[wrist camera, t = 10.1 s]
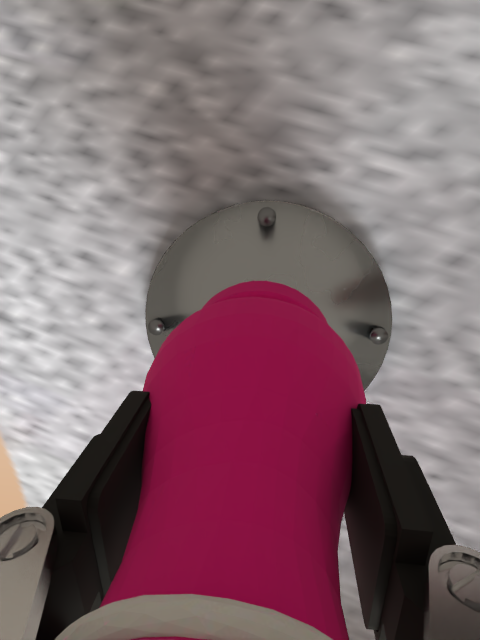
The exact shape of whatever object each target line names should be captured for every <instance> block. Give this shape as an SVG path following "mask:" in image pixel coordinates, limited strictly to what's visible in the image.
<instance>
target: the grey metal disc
mask: <svg viewBox="0 0 480 640" xmlns="http://www.w3.org/2000/svg"><path fill="white" fill-rule="evenodd" d="M249 281H270V282H275V283H280V284H284V285H286V286H289V287H291V288H293V289H296V290H298V291H299V292H301V293H302V294H304V295H305V296H306V297H308V298H309V299H310V300H311V301H312V302H313V303H314V304H315V305H316V306H317V307H318V308H319V309H320V311H321V312H322V314H323V315H324V317H325V318H326V321H327V323H328V325H329V326H330V327H331V328H332V329H333V330H334V331H335V332H336V333H337V334H338V335H339V336H340V338H341V339H342V340H343V341H344V343H345V344H346V346H347V347H348V349H349V350H350V352H351V353H352V355H353V357H354V359H355V361H356V364H357V366H358V368H359V371H360V376H361V380H362V385H363V389H364V390H365V389H366V388H367V387H368V386H369V384H370V383H371V381H372V380H373V379H374V377H375V376H376V374H377V372H378V370H379V369H380V367H381V365H382V363H383V360H384V358H385V355H386V352H387V350H388V345H389V341H390V336H391V327H392V311H391V301H390V297H389V292H388V288H387V285H386V282H385V280H384V277H383V275H382V272H381V270H380V269H379V267H378V265H377V263H376V261H375V260H374V258H373V257H372V255H371V254H370V253H369V251H368V250H367V249H366V247H365V246H364V245H363V244H362V243H361V242H360V241H359V240H358V239H357V238H356V237H355V236H354V235H353V234H352V233H351V232H350V231H349V230H347V229H346V228H345V227H343V226H342V225H341V224H339V223H338V222H336V221H335V220H334V219H332V218H330V217H328V216H327V215H325V214H323V213H321V212H319V211H317V210H314V209H311V208H308V207H306V206H303V205H299V204H294V203H289V202H284V201H270V200H266V201H251V202H246V203H241V204H237V205H233V206H230V207H227V208H225V209H222V210H219V211H217V212H215V213H213V214H211V215H209V216H207V217H206V218H204V219H202V220H200V221H199V222H197V223H196V224H194V225H193V226H191V227H190V228H189V229H187V230H186V231H185V232H184V233H183V234H182V235H181V236H180V237H179V238H178V239H176V240H175V241H174V243H173V244H172V245H171V246H170V248H169V249H168V250H167V251H166V253H165V254H164V256H163V257H162V259H161V261H160V262H159V264H158V266H157V268H156V270H155V272H154V275H153V277H152V280H151V283H150V287H149V291H148V294H147V302H146V329H147V335H148V340H149V343H150V347H151V350H152V353H153V355H154V358H155V357H156V355H157V353H158V351H159V349H160V347H161V345H162V344H163V342H164V341H165V340H166V338H167V337H168V336H169V334H170V333H171V332H172V331H173V330H174V329H175V328H176V327H177V326H178V325H179V324H180V323H182V322H183V321H184V320H185V319H186V318H187V317H189V316H190V315H192V314H193V313H195V312H197V311H199V310H201V309H202V308H203V306H204V305H205V304H206V303H207V302H208V301H209V300H210V299H211V298H212V297H213V296H214V295H216V294H218V293H219V292H221V291H222V290H224V289H226V288H228V287H231V286H234V285H236V284H239V283H242V282H249Z"/></svg>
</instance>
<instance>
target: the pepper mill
mask: <svg viewBox="0 0 480 640" xmlns="http://www.w3.org/2000/svg"><path fill="white" fill-rule="evenodd" d="M143 391H146V392H150V393H149V396H148V397H149V399H150V402H151V409H150V414H149V418H148V423H147V428H146V433H145V442H144V452H143V461H142V487H141V493H140V499H139V505H138V511H137V514H136V518H135V521H134V524H133V527H132V530H131V534H130V537H129V540H128V543H127V547H126V550H125V553H124V556H123V559H122V563H121V565H120V567H119V569H118V571H117V573H116V575H115V577H114V579H113V581H112V583H111V585H110V587H109V589H108V591H107V593H106V595H105V597H104V599H103V601H102V603H101V605H100V607H99V608H98V609H96V610H94V611H92V612H90V613H88V614H86V615H84V616H82V617H81V618H79V619H78V620H76V621H75V622H73V623H72V624H71V625H69V626H68V627H67V628H66V629H65V630H64V631H63V632H62V633H60V634H59V635H58V636H57V637H56V639H55V640H349V637H348V633H347V628H346V624H345V619H344V615H343V610H342V606H341V598H340V583H339V568H338V543H339V535H340V526H341V521H342V517H343V514H344V510H345V506H346V503H347V500H348V497H349V493H350V488H351V481H352V414H351V408H354V409H357V406H358V404H366V398H365V394H364V389H363V385H362V380H361V376H360V371H359V368H358V366H357V364H356V361H355V359H354V357H353V355H352V353H351V352H350V350H349V349H348V347H347V346H346V344H345V343H344V341H343V340H342V339H341V338H340V336H339V335H338V334H337V333H336V332H335V331H334V330H333V329H332V328H331V327H330V326H329V325H328V323H327V321H326V318H325V317H324V315H323V314H322V312H321V311H320V309H319V308H318V307H317V306H316V305H315V304H314V303H313V302H312V301H311V300H310V299H309V298H308V297H306V296H305V295H304V294H302V293H301V292H299V291H298V290H296V289H293V288H291V287H289V286H286V285H284V284H280V283H275V282H270V281H249V282H242V283H239V284H236V285H234V286H231V287H228V288H226V289H224V290H222V291H221V292H219V293H218V294H216V295H214V296H213V297H212V298H211V299H210V300H209V301H208V302H207V303H206V304H205V305H204V306H203V308H202V309H201V310H199V311H197V312H195V313H193V314H192V315H190V316H189V317H187V318H186V319H185V320H184V321H183V322H182V323H180V324H179V325H178V326H177V327H176V328H175V329H174V330H173V331H172V332H171V333H170V334H169V336H168V337H167V338H166V340H165V341H164V342H163V344H162V345H161V347H160V349H159V351H158V353H157V355H156V357H155V359H154V361H153V363H152V365H151V367H150V369H149V371H148V373H147V376H146V380H145V384H144V388H143Z"/></svg>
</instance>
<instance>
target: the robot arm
mask: <svg viewBox="0 0 480 640" xmlns="http://www.w3.org/2000/svg"><path fill="white" fill-rule="evenodd" d="M149 393H150V392H146V391H131V392H130V393H129V394H128V396H127V397H126V399H125V400H124V401H123V403H122V404H121V406H120V407H119V409H118V410H117V411H116V413H115V414H114V416H113V417H112V418H111V420H110V421H109V423H108V424H107V426H106V427H105V428H104V430H103V431H102V433H101V434H98V435H96V436H94V437H93V439H92V440H91V441H90V442H89V444H88V445H87V447H86V448H85V449H84V451H83V452H82V453H81V455H80V456H79V458H78V459H77V460H76V462H75V463H74V464H73V466H72V467H71V469H70V470H69V471H68V473H67V474H66V476H65V477H64V478H63V480H62V481H61V482H60V484H59V485H58V487H57V488H56V489H55V491H54V492H53V493H52V495H51V496H50V498H49V499H48V500H47V502H46V503H45V504H44V506H43V507H42V508H40V507H26V508H22V509H19V510H15V511H13V512H11V513H9V514H7V515H4V516H3V517H1V518H0V640H55V639H56V637H57V636H58V635H59V634H60V633H62V632H63V631H64V630H65V629H66V628H67V627H68V626H69V625H71V624H72V623H73V622H75V621H76V620H78V619H79V618H81V617H82V616H84V615H86V614H88V613H90V612H92V611H94V610H96V609H98V608H99V607H100V605H101V603H102V601H103V599H104V597H105V595H106V593H107V591H108V589H109V587H110V585H111V583H112V581H113V579H114V577H115V575H116V573H117V571H118V569H119V567H120V565H121V563H122V559H123V556H124V553H125V550H126V547H127V543H128V540H129V537H130V534H131V530H132V527H133V524H134V521H135V518H136V514H137V511H138V505H139V499H140V493H141V487H142V461H143V452H144V442H145V433H146V428H147V423H148V418H149V414H150V409H151V402H150V399H149V397H148V396H149ZM351 414H352V481H351V488H350V493H349V497H348V500H347V503H346V506H345V510H344V514H345V519H346V525H347V530H348V536H349V541H350V547H351V553H352V558H353V564H354V569H355V575H356V580H357V586H358V592H359V597H360V603H361V608H362V614H363V619H364V624H365V627H366V629H372V630H374V633H375V638H376V640H480V552H477V551H475V550H473V549H470V548H468V547H463V546H459V545H456V543H455V541H454V539H453V537H452V535H451V533H450V530H449V528H448V526H447V524H446V522H445V520H444V518H443V515H442V513H441V511H440V509H439V507H438V505H437V503H436V500H435V498H434V496H433V494H432V492H431V490H430V488H429V485H428V483H427V481H426V479H425V477H424V475H423V473H422V470H421V468H420V466H419V464H418V462H417V460H416V459H415V458H414V457H413V456H406V455H401V453H400V451H399V448H398V446H397V444H396V441H395V439H394V437H393V434H392V432H391V429H390V427H389V425H388V422H387V420H386V418H385V415H384V413H383V410H382V408H381V406H380V405H376V404H358V406H357V409H354V408H351Z"/></svg>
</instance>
